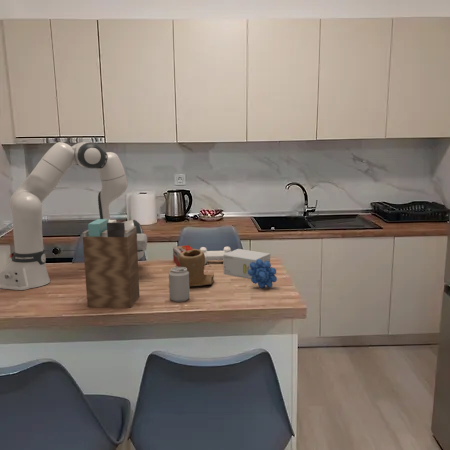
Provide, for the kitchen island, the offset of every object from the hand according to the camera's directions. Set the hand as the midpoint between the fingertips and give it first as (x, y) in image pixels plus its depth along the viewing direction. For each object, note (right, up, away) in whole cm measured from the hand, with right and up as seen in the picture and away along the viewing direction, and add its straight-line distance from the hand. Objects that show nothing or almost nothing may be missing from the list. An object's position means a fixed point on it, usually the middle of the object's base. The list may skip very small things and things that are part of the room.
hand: (118, 233), depth 193 cm
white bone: (+39, -15, +35) cm, 54 cm away
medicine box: (+25, -16, +33) cm, 44 cm away
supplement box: (+54, -18, +17) cm, 59 cm away
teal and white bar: (-1, +1, -17) cm, 17 cm away
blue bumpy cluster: (+59, -22, -4) cm, 63 cm away
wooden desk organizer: (+2, -25, -17) cm, 30 cm away
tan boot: (+32, -21, +1) cm, 39 cm away
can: (+27, -25, -15) cm, 39 cm away
